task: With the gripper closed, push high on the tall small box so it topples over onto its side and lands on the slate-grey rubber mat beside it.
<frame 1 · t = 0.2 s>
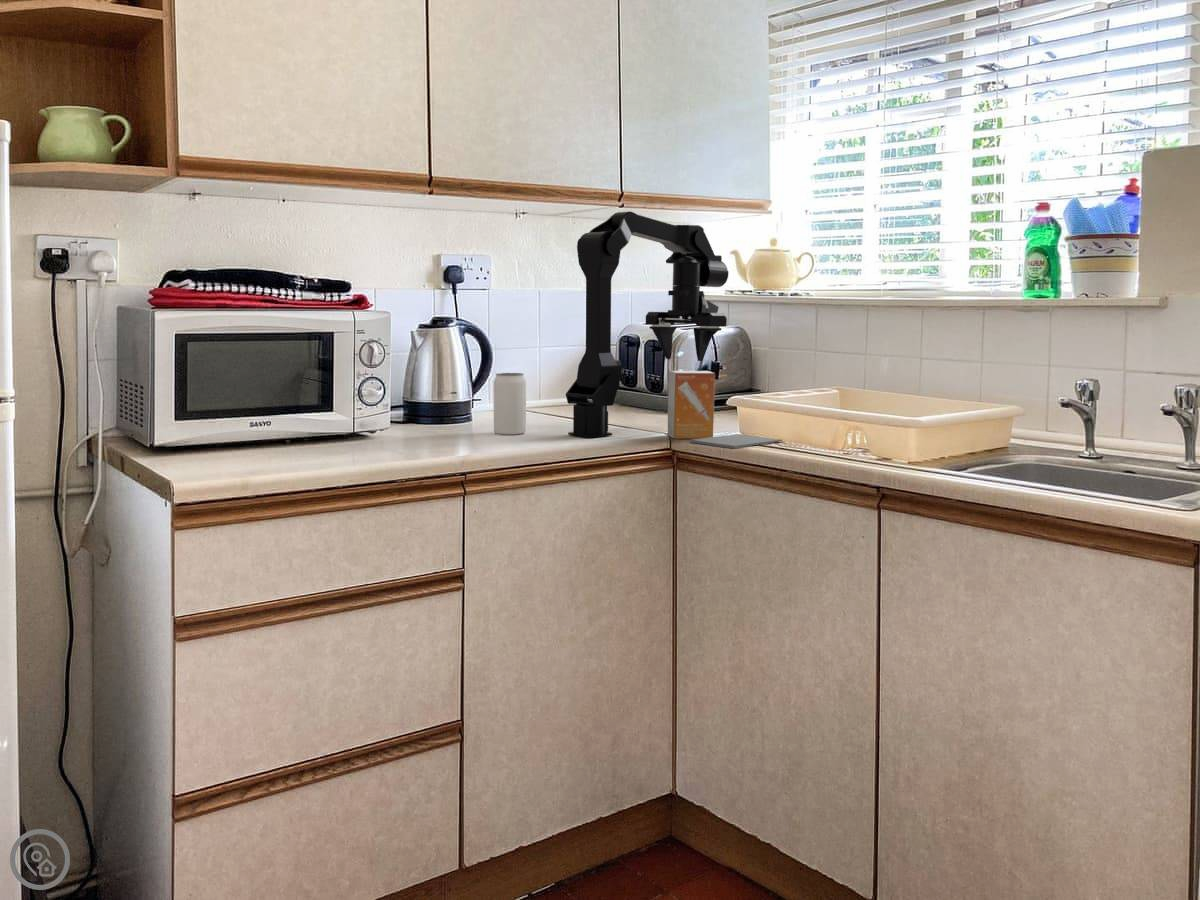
hand: (684, 360, 228), 14 cm above the counter, fingers open, 9 cm apart
small box: (690, 438, 211), on the counter
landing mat: (736, 442, 204), on the counter
can: (509, 434, 215), on the counter
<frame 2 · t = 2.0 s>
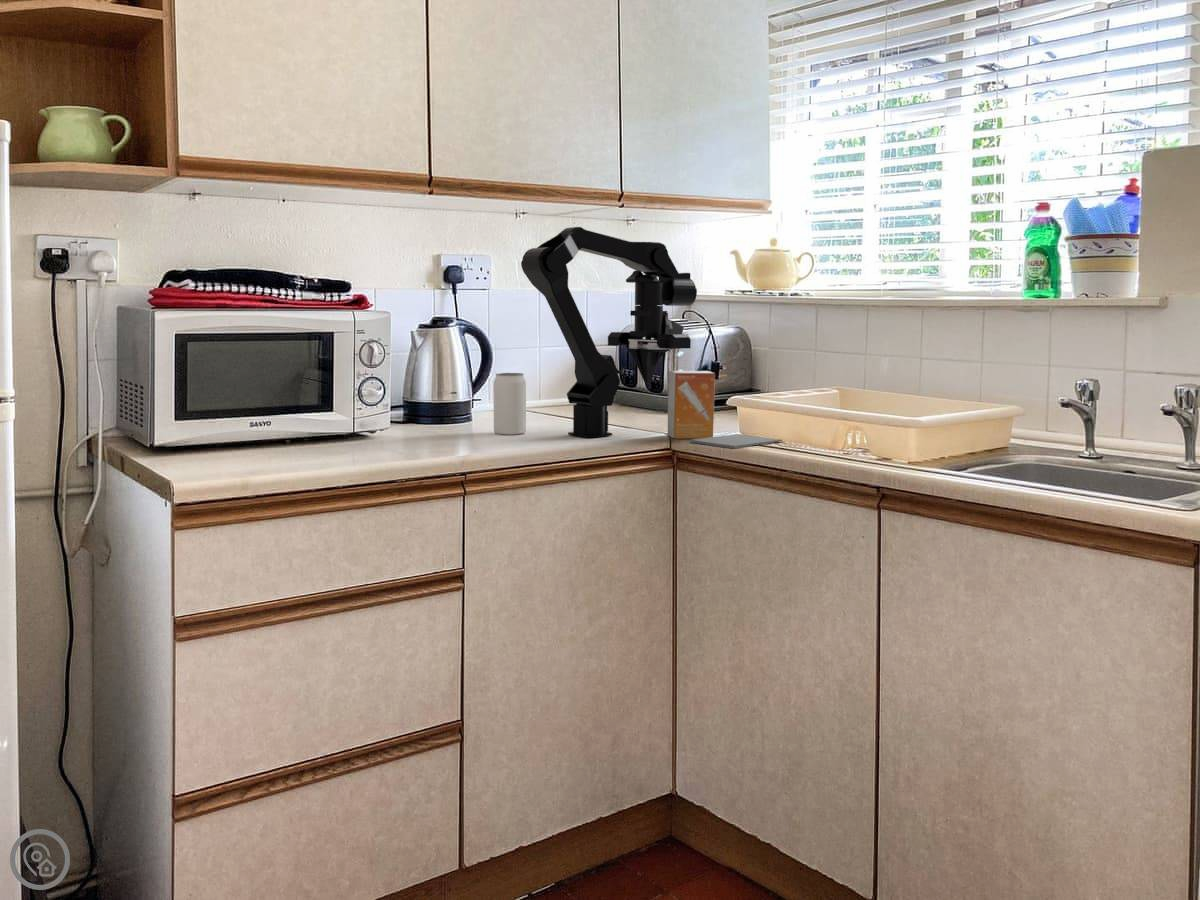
hand: (647, 382, 218), 10 cm above the counter, fingers closed
nothing on the counter moved.
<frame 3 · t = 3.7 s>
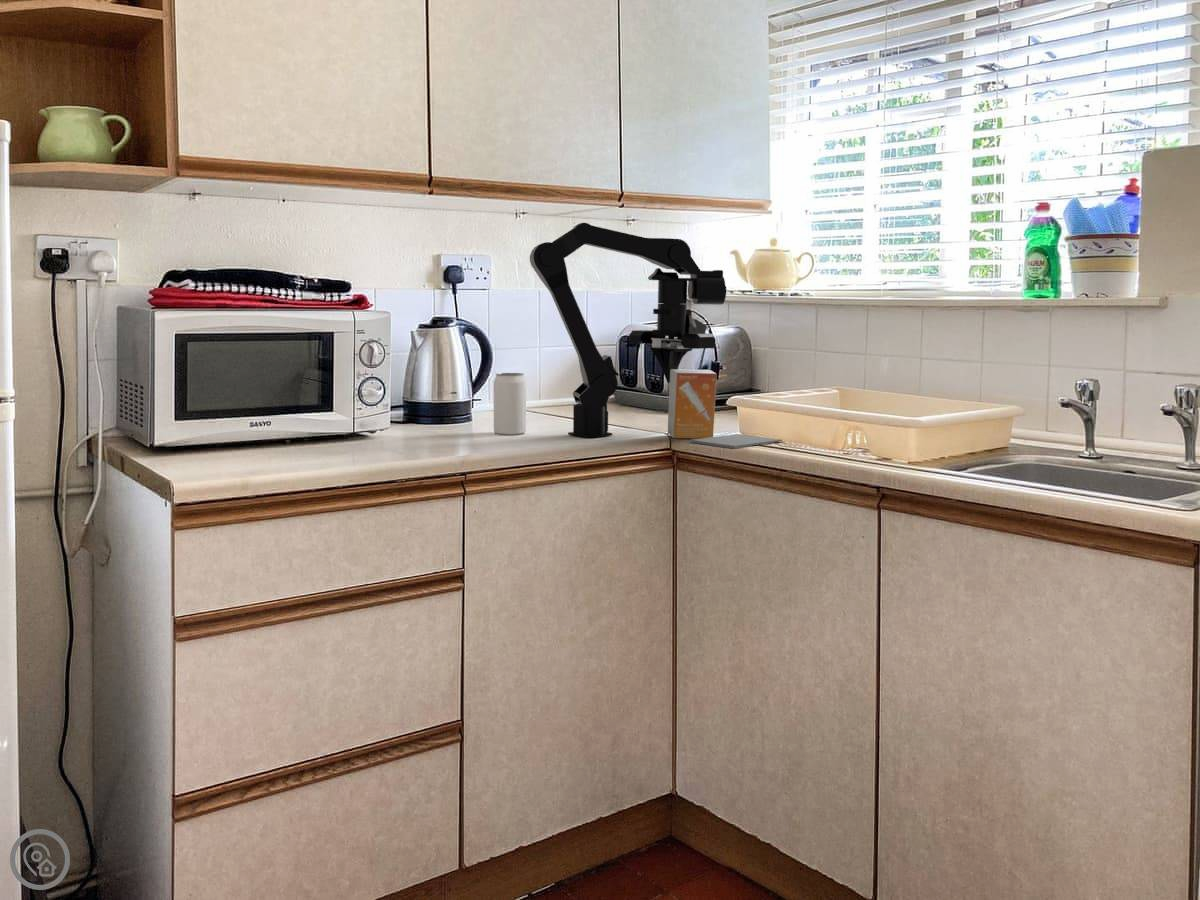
hand: (670, 382, 214), 10 cm above the counter, fingers closed
small box: (690, 437, 211), on the counter, touching gripper
everything else where it was.
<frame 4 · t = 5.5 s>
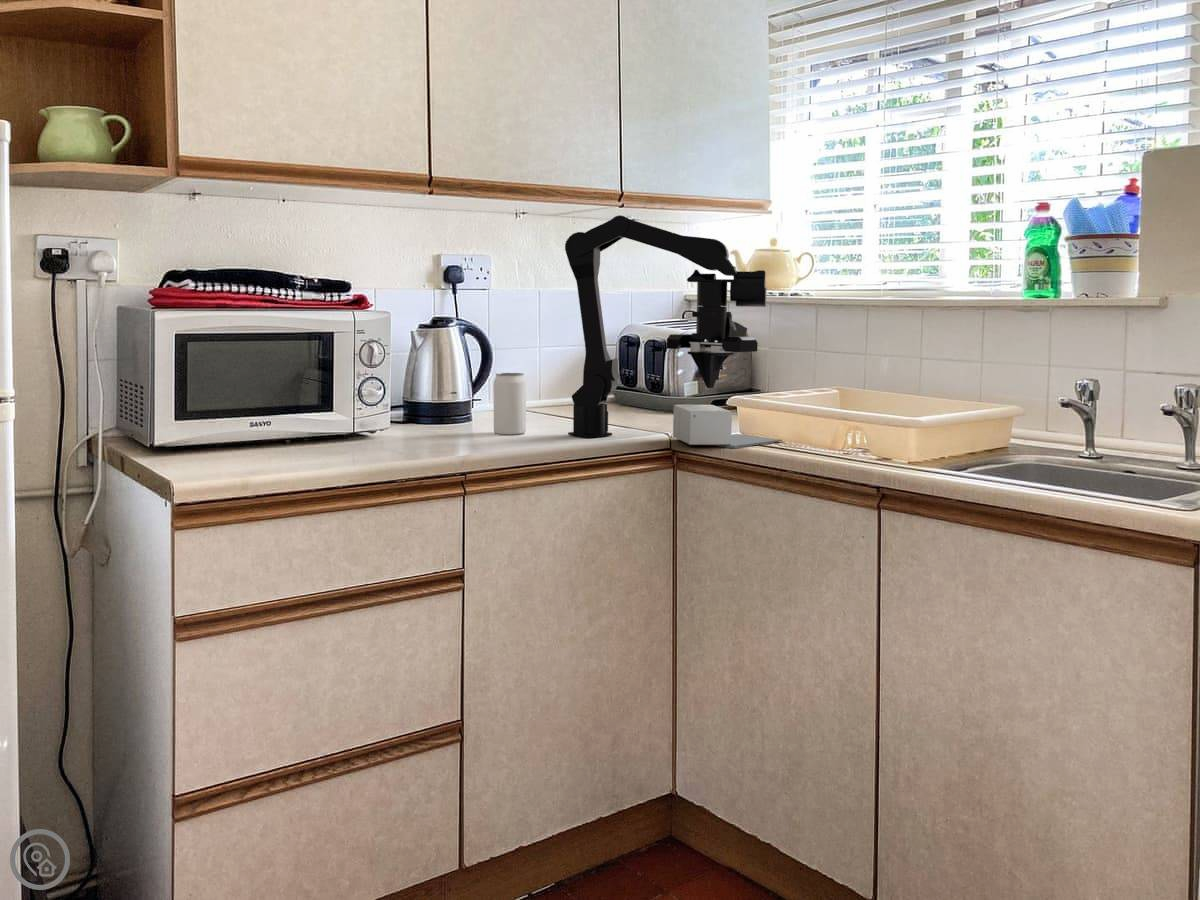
hand: (710, 388, 206), 10 cm above the counter, fingers closed
small box: (692, 420, 208), point 4 cm above the counter, touching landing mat
everything else where it was.
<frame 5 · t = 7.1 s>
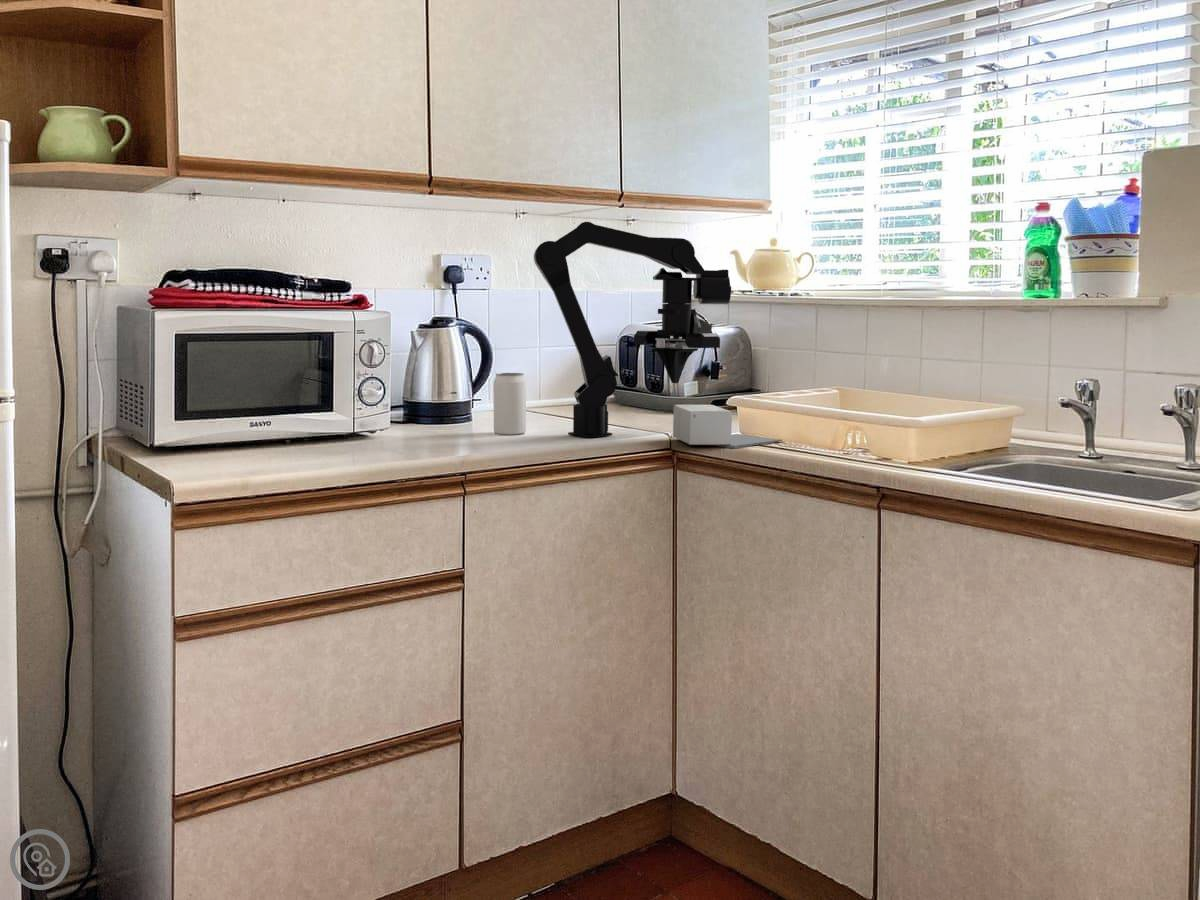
hand: (675, 383, 212), 10 cm above the counter, fingers closed
nothing on the counter moved.
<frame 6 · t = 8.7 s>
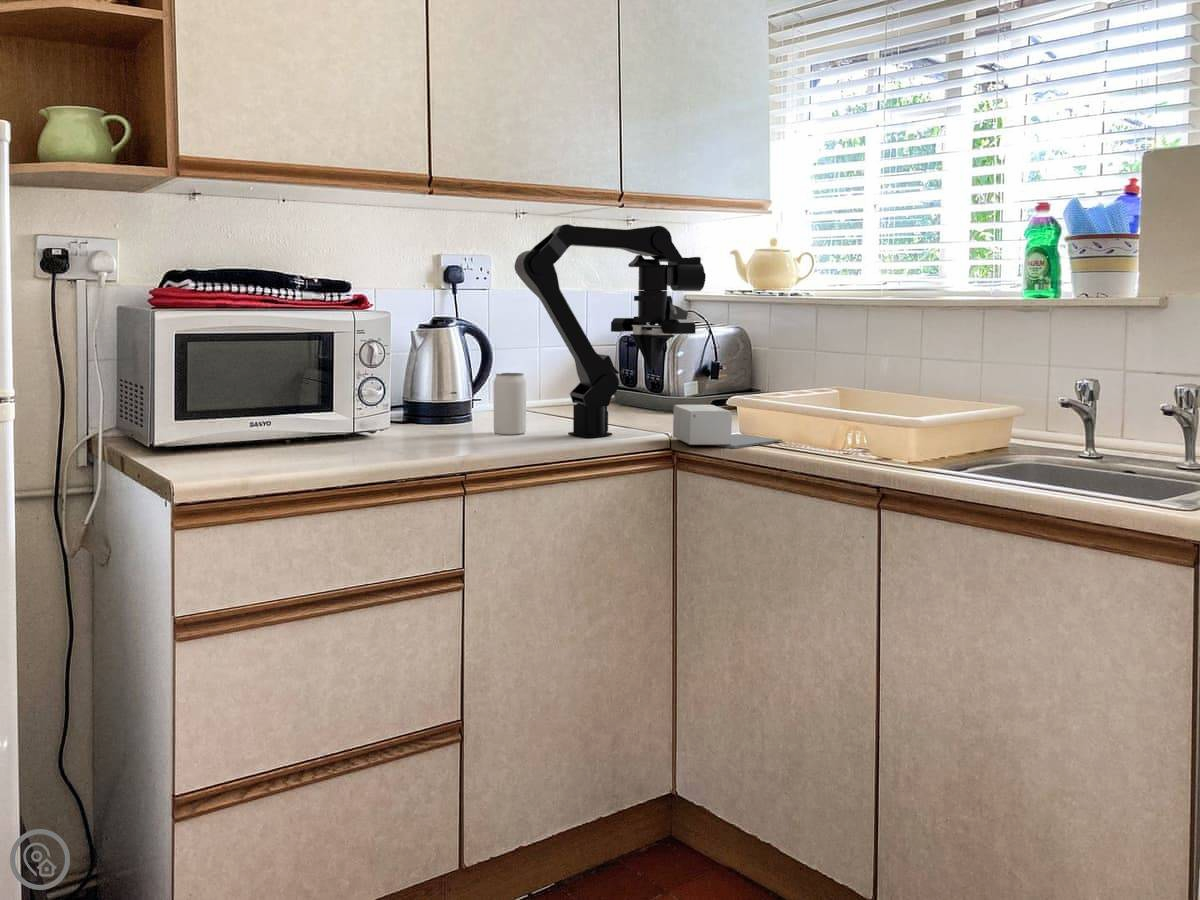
hand: (651, 369, 214), 13 cm above the counter, fingers closed
nothing on the counter moved.
at the end: small box tilted 90°; small box inside the target area (4.3 cm from its centre), point 3.6 cm above the counter; small box touching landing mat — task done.
